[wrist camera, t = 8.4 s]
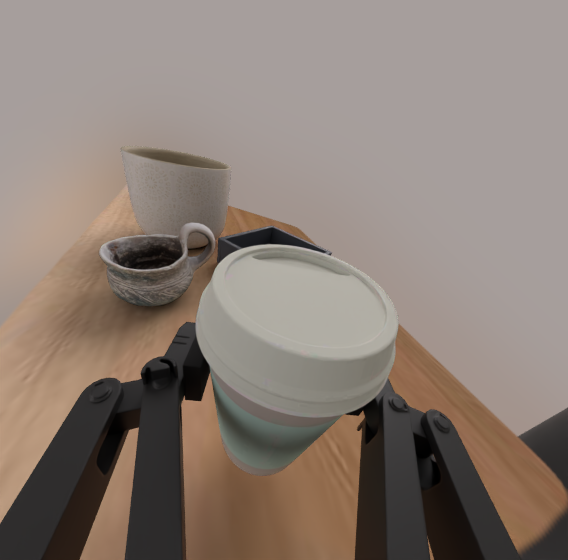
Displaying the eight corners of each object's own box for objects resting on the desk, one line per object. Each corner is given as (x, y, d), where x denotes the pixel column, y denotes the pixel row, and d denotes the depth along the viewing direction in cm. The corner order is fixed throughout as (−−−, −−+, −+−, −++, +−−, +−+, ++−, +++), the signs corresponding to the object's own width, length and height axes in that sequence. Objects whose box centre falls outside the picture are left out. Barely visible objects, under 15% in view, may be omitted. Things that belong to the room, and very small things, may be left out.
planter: (129, 224, 45) (114, 140, 37) (209, 223, 55) (210, 156, 48) (144, 263, 35) (129, 158, 27) (239, 252, 45) (247, 174, 37)
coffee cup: (338, 411, 17) (419, 288, 11) (280, 560, 10) (404, 466, 4) (254, 351, 20) (278, 229, 14) (167, 435, 13) (138, 273, 7)
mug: (104, 284, 29) (84, 210, 24) (195, 266, 37) (195, 209, 32) (123, 329, 24) (101, 247, 19) (224, 297, 32) (229, 234, 27)
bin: (324, 272, 46) (332, 252, 43) (283, 302, 34) (290, 277, 31) (268, 244, 52) (272, 225, 49) (217, 261, 40) (218, 237, 38)
